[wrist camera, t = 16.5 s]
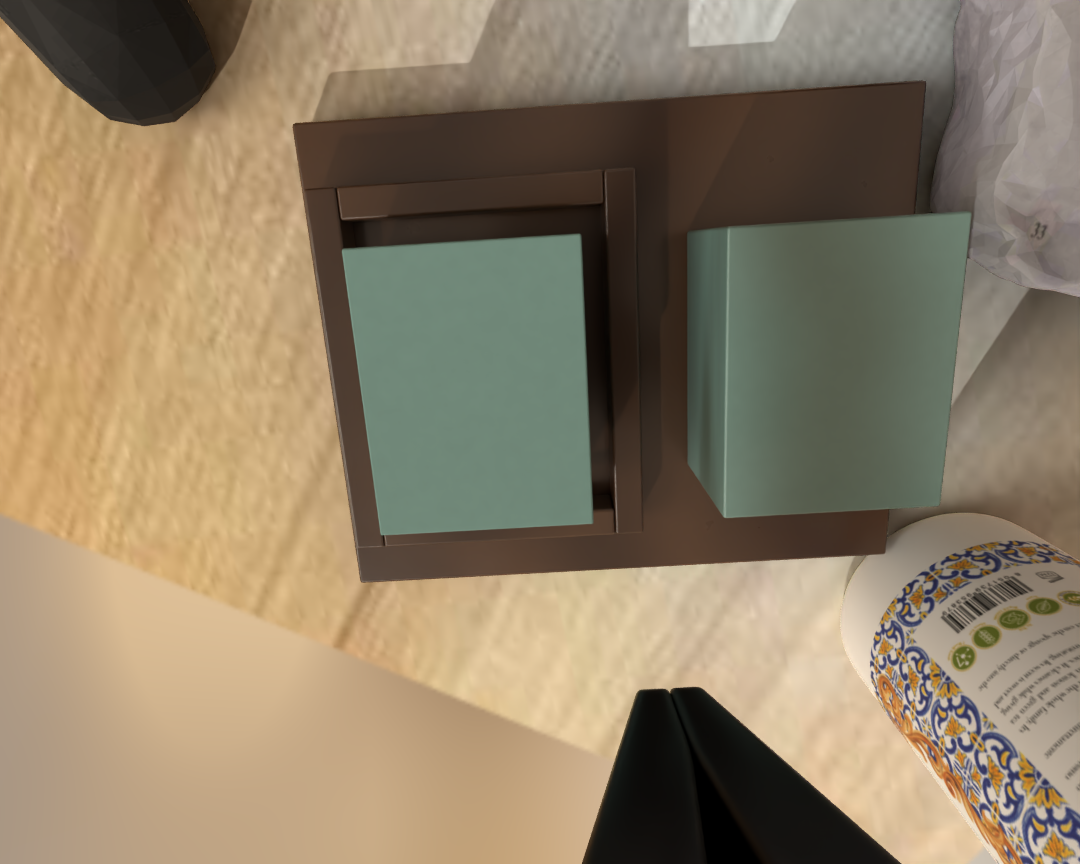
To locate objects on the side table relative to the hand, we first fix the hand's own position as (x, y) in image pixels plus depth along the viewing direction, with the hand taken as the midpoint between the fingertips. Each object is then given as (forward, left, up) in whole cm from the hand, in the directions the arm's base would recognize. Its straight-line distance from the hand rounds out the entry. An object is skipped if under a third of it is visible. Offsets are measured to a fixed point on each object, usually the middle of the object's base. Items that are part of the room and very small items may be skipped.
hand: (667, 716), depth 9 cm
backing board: (-1, -3, -12) cm, 12 cm away
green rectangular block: (+3, -3, -11) cm, 12 cm away
